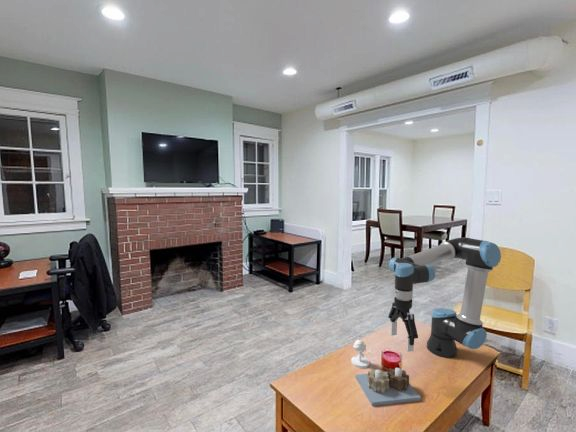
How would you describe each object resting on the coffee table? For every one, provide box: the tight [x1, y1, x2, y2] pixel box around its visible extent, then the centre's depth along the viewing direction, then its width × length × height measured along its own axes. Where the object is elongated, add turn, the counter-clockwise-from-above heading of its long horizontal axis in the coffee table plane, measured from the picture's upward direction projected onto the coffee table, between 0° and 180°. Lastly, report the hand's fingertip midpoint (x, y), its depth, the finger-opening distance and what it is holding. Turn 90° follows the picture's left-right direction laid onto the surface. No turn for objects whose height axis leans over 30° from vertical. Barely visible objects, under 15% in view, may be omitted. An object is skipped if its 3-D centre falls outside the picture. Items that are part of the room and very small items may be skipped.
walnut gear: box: [386, 367, 410, 391], centre depth 133 cm, size 9×9×5 cm
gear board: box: [355, 367, 422, 407], centre depth 132 cm, size 22×18×8 cm
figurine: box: [351, 339, 370, 369], centre depth 151 cm, size 9×9×12 cm
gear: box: [367, 368, 389, 394], centre depth 132 cm, size 9×9×5 cm
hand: (401, 342), depth 134 cm, fingers open, 13 cm apart
